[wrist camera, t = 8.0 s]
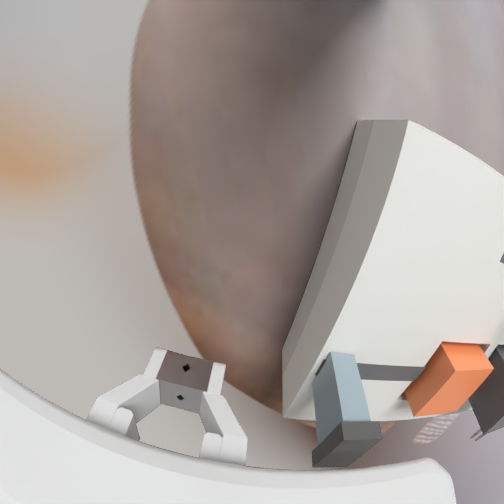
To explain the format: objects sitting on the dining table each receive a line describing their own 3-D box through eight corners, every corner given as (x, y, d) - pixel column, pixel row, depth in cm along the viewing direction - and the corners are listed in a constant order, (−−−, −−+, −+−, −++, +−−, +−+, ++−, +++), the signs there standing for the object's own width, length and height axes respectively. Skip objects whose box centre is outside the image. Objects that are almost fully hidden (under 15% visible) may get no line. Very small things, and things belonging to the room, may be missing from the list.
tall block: (359, 352, 11) (382, 438, 7) (336, 388, 13) (347, 466, 8) (328, 348, 11) (344, 440, 7) (307, 385, 12) (312, 467, 8)
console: (532, 215, 13) (578, 245, 8) (452, 364, 20) (475, 409, 15) (357, 120, 13) (408, 119, 7) (281, 349, 20) (282, 417, 14)
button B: (464, 323, 14) (494, 368, 10) (434, 366, 16) (455, 411, 12) (425, 318, 14) (455, 371, 10) (394, 364, 15) (413, 416, 12)
